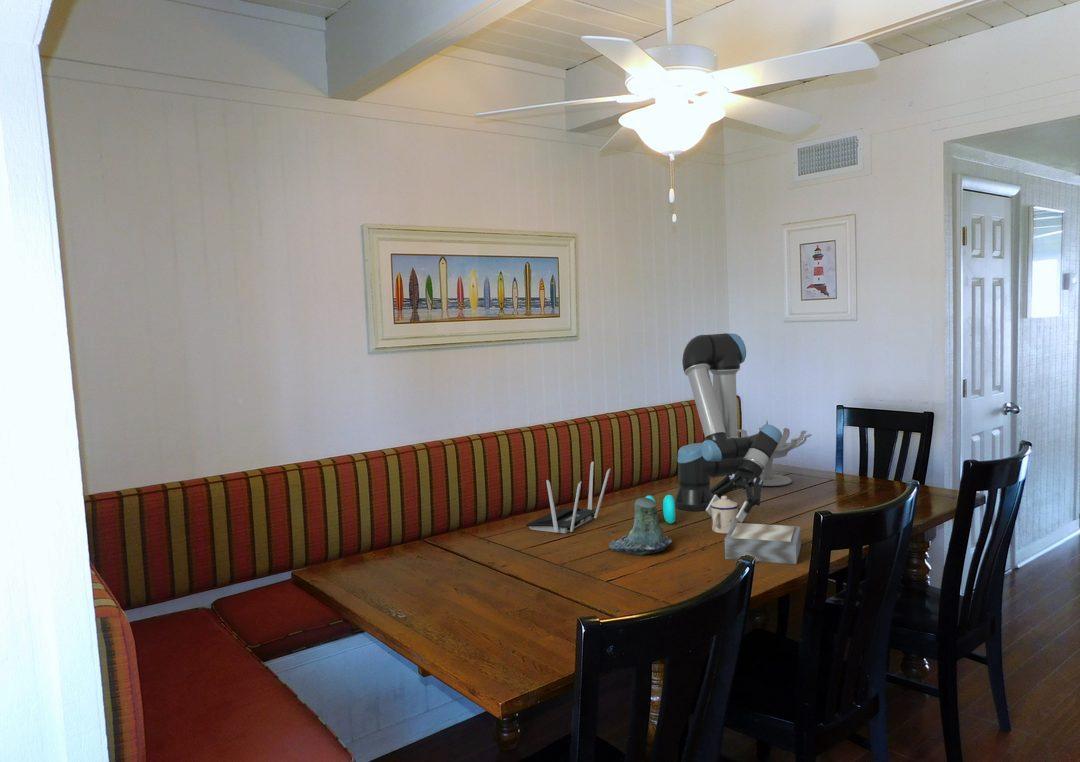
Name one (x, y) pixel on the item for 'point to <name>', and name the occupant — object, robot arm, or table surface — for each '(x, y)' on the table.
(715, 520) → the teacup with lid
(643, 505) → the tree stump
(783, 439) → the candelabra
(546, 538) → the table surface
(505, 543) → the table surface
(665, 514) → the donuts
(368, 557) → the table surface
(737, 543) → the serving riser
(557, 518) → the wireless router
